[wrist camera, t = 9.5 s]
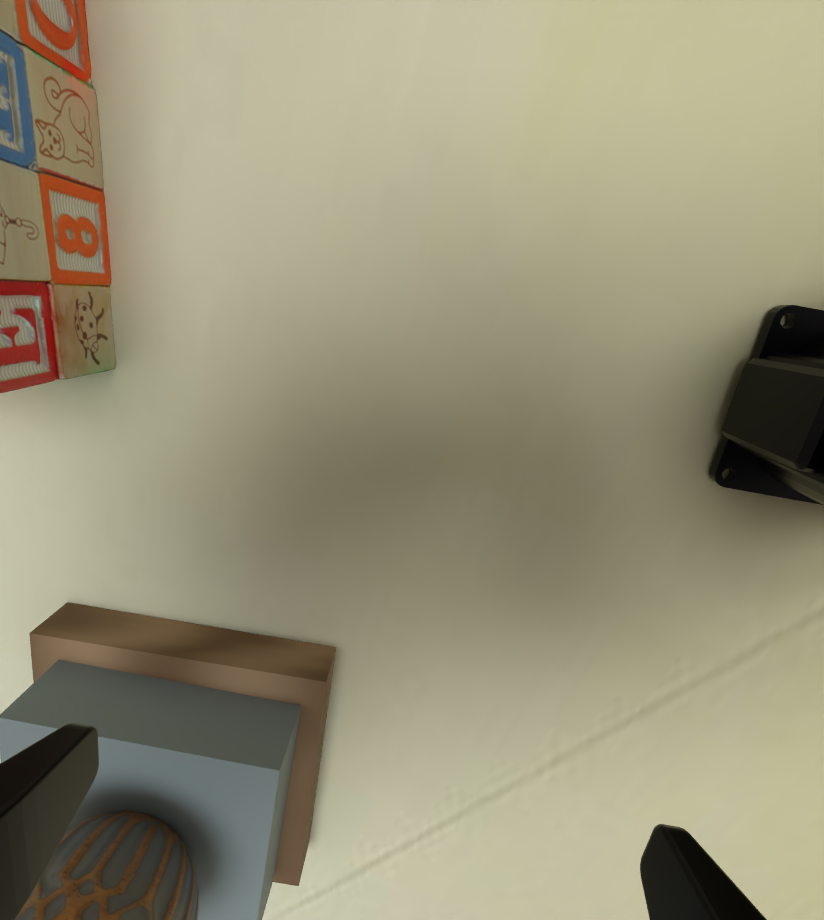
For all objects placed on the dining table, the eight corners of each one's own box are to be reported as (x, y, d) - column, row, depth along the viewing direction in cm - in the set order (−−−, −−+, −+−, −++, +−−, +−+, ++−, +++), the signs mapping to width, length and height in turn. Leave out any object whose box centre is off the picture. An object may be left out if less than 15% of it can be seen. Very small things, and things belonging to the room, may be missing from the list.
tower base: (339, 635, 23) (326, 682, 20) (313, 823, 26) (298, 885, 24) (80, 591, 23) (29, 633, 20) (89, 786, 26) (47, 845, 24)
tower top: (301, 705, 20) (279, 771, 18) (274, 873, 23) (252, 952, 21) (59, 659, 20) (-3, 717, 17) (63, 833, 23) (11, 907, 20)
